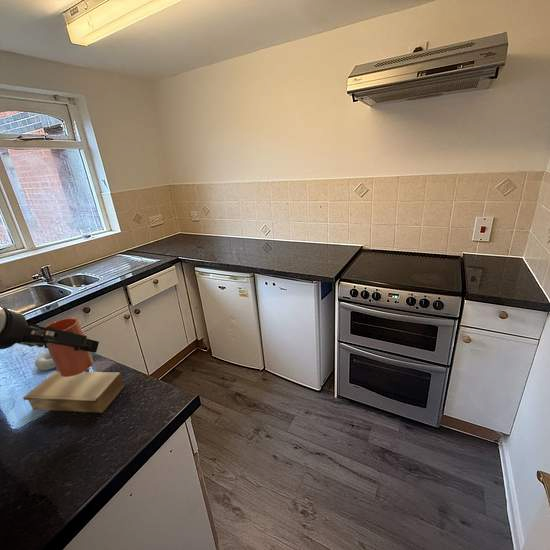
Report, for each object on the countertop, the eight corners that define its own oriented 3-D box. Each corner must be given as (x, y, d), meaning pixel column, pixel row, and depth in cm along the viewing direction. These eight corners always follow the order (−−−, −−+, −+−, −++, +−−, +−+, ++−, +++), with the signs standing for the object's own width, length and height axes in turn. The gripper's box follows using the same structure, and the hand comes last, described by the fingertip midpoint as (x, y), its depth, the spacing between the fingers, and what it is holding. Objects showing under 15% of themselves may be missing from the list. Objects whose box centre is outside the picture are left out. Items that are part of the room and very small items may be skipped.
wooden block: (30, 411, 83) (22, 397, 81) (61, 384, 93) (55, 370, 91) (100, 415, 79) (94, 400, 77) (125, 386, 89) (120, 372, 87)
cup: (51, 376, 72) (32, 334, 68) (75, 357, 79) (59, 317, 74) (78, 377, 71) (60, 334, 66) (99, 357, 78) (85, 317, 73)
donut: (77, 354, 107) (54, 353, 109) (74, 346, 106) (51, 345, 108) (54, 373, 98) (29, 371, 100) (50, 364, 97) (25, 363, 99)
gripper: (43, 306, 56) (121, 332, 76) (-44, 307, 59) (53, 332, 80) (28, 347, 53) (113, 362, 74) (-62, 345, 56) (43, 360, 77)
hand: (82, 346), depth 77 cm, fingers closed on cup, 7 cm apart
